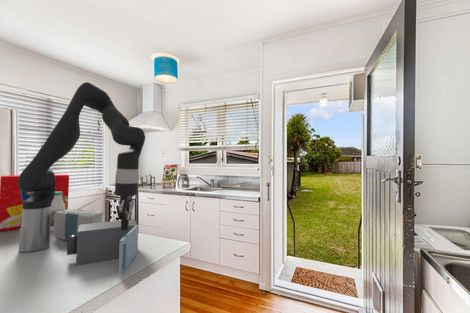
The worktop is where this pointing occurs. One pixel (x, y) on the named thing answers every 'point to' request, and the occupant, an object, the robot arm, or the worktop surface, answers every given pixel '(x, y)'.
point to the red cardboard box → (21, 200)
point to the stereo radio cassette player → (73, 221)
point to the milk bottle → (56, 207)
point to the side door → (128, 249)
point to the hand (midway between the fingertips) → (124, 229)
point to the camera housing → (97, 241)
